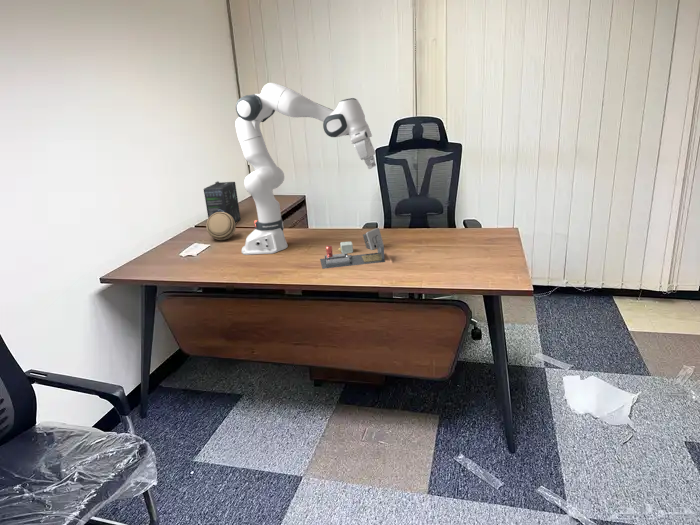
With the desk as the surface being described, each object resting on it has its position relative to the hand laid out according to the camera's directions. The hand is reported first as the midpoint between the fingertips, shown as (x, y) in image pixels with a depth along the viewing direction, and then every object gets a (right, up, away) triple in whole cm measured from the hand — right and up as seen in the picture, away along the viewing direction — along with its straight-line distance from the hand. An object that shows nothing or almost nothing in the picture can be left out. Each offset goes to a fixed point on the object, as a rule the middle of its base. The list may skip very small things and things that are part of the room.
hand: (372, 167), depth 205 cm
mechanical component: (-78, -28, +54) cm, 98 cm away
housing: (-11, -36, +17) cm, 42 cm away
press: (-9, -40, +5) cm, 42 cm away
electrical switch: (+1, -34, +21) cm, 40 cm away
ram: (-14, -40, +4) cm, 42 cm away
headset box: (-84, -18, +84) cm, 120 cm away
